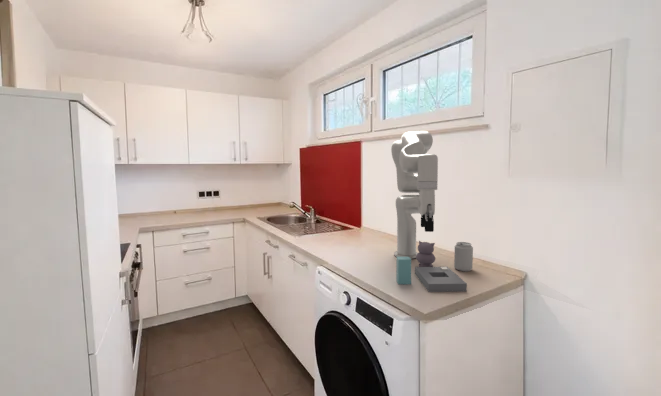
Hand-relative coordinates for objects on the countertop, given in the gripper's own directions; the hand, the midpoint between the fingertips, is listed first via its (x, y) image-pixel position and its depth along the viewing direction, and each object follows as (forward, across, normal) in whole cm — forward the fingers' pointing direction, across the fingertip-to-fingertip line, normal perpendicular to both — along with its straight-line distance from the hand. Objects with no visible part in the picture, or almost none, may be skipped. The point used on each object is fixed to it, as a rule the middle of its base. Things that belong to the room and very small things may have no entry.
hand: (426, 229), depth 125 cm
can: (+21, -17, +19) cm, 33 cm away
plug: (+22, +1, -9) cm, 23 cm away
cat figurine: (+21, -18, +3) cm, 28 cm away
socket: (+21, 0, +5) cm, 22 cm away
